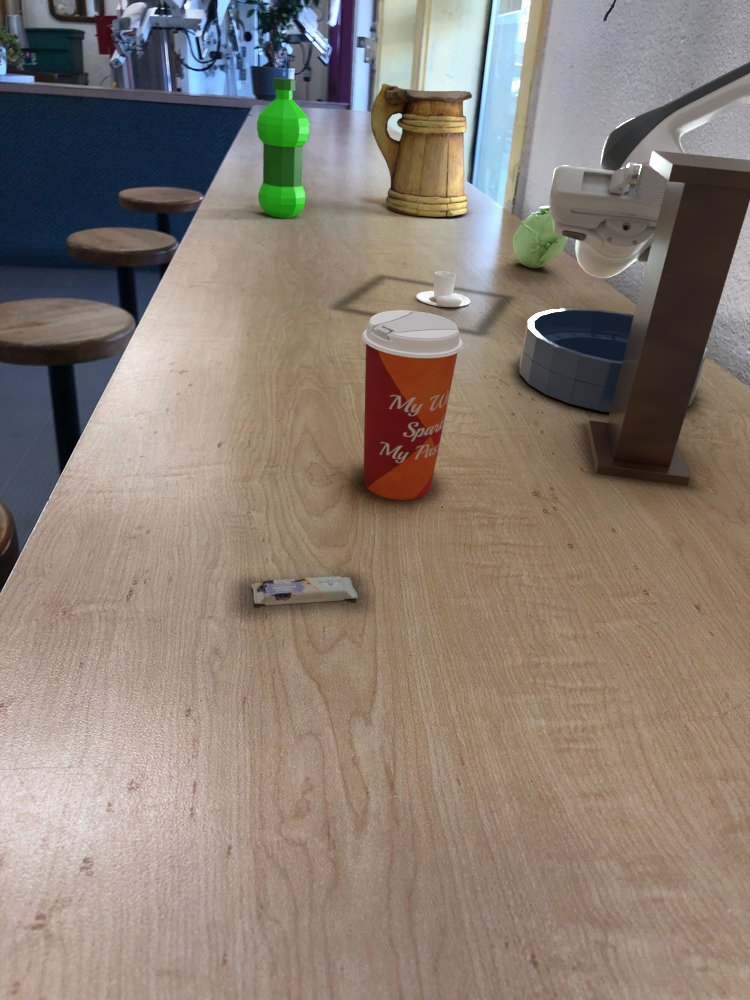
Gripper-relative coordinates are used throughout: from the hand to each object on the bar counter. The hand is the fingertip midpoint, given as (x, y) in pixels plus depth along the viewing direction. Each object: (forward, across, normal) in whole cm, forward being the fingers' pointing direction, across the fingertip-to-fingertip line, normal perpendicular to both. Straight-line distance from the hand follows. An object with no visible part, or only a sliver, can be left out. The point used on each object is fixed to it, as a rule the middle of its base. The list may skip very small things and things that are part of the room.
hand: (650, 170), depth 86 cm
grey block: (+5, 0, -4) cm, 7 cm away
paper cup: (+23, +21, -39) cm, 50 cm away
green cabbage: (-51, +8, +3) cm, 52 cm away
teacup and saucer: (-25, +24, -12) cm, 37 cm away
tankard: (-91, +34, +26) cm, 101 cm away
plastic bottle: (-69, +59, +13) cm, 92 cm away
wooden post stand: (+12, 0, -33) cm, 35 cm away
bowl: (-4, +1, -23) cm, 24 cm away
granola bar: (+38, +25, -47) cm, 65 cm away
